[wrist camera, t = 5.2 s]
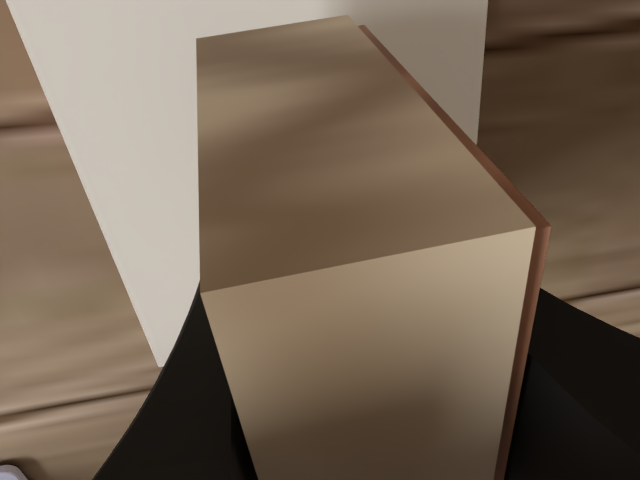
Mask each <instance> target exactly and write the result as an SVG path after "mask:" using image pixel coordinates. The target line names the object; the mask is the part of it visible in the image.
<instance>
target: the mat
mask: <svg viewBox="0 0 640 480" xmlns="http://www.w3.org/2000/svg"><path fill="white" fill-rule="evenodd" d="M6 2H7V4H8V7H9V9H10V12H11V14H12V16H13V19H14V21H15V24H16V26H17V28H18V31H19V33H20V36H21V38H22V40H23V43H24V45H25V48H26V50H27V52H28V55H29V57H30V60H31V62H32V64H33V67H34V69H35V72H36V74H37V76H38V79H39V81H40V84H41V86H42V88H43V91H44V93H45V96H46V98H47V100H48V103H49V105H50V108H51V110H52V112H53V115H54V117H55V119H56V122H57V124H58V127H59V129H60V131H61V134H62V136H63V139H64V141H65V143H66V146H67V148H68V151H69V153H70V155H71V158H72V160H73V163H74V165H75V167H76V170H77V172H78V175H79V177H80V179H81V182H82V184H83V187H84V189H85V191H86V194H87V196H88V199H89V201H90V203H91V206H92V208H93V211H94V213H95V215H96V218H97V220H98V223H99V225H100V227H101V230H102V232H103V235H104V237H105V239H106V242H107V244H108V247H109V249H110V251H111V254H112V256H113V259H114V261H115V263H116V266H117V268H118V271H119V273H120V275H121V278H122V280H123V283H124V285H125V287H126V290H127V292H128V295H129V297H130V299H131V302H132V304H133V307H134V309H135V311H136V314H137V316H138V319H139V321H140V323H141V326H142V328H143V331H144V333H145V335H146V338H147V340H148V343H149V345H150V347H151V350H152V352H153V355H154V357H155V359H156V362H157V364H158V367H163V366H164V365H165V363H166V361H167V359H168V357H169V355H170V353H171V351H172V349H173V347H174V345H175V343H176V340H177V338H178V336H179V333H180V331H181V329H182V326H183V324H184V322H185V319H186V317H187V315H188V312H189V309H190V307H191V304H192V301H193V299H194V296H195V293H196V290H197V287H198V284H199V281H200V255H199V192H198V130H197V67H196V38H202V37H209V36H215V35H222V34H228V33H234V32H241V31H247V30H253V29H260V28H266V27H272V26H279V25H285V24H292V23H298V22H304V21H311V20H317V19H323V18H330V17H336V16H343V15H348V16H349V17H350V18H351V19H352V20H353V21H354V22H355V24H356V25H357V26H360V25H365V26H366V27H367V28H368V29H369V30H370V31H371V33H372V34H373V35H374V36H375V37H376V38H377V39H378V40H379V41H380V42H381V43H382V44H383V45H384V47H385V48H386V49H387V50H388V51H389V52H390V53H391V54H392V55H393V56H394V57H395V58H396V59H397V60H398V62H399V63H400V64H401V65H402V66H403V67H404V68H405V69H406V70H407V71H408V72H409V73H410V74H411V76H412V77H413V78H414V79H415V80H416V81H417V82H418V83H419V84H420V85H421V86H422V87H423V88H424V90H425V91H426V92H427V93H428V94H429V95H430V96H431V97H432V98H433V99H434V100H435V101H436V102H437V103H438V105H439V106H440V107H441V108H442V109H443V110H444V111H445V112H446V113H447V114H448V115H449V116H450V117H451V119H452V120H453V121H454V122H455V123H456V124H457V125H458V126H459V127H460V128H461V129H462V130H463V131H464V132H465V134H466V135H467V136H468V137H469V138H470V139H471V140H472V141H473V142H474V143H475V144H476V145H477V137H478V124H479V111H480V98H481V85H482V72H483V60H484V47H485V34H486V21H487V8H488V0H6Z"/></svg>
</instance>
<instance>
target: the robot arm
mask: <svg viewBox="0 0 640 480" xmlns="http://www.w3.org/2000/svg"><path fill="white" fill-rule="evenodd" d="M0 480H27V478H26V477H25V476H24V474H23V473H22V472H21V471H20V469H18V468H17V467H16V466H13V465H2V466H0ZM92 480H258V477H257V474H256V471H255V467H254V464H253V461H252V458H251V455H250V451H249V448H248V445H247V442H246V439H245V435H244V432H243V429H242V426H241V423H240V419H239V416H238V413H237V410H236V407H235V403H234V400H233V397H232V394H231V391H230V387H229V384H228V381H227V378H226V375H225V371H224V368H223V365H222V362H221V359H220V355H219V352H218V349H217V346H216V343H215V339H214V336H213V333H212V330H211V327H210V323H209V320H208V317H207V314H206V311H205V307H204V304H203V301H202V298H201V294H200V281H199V284H198V287H197V290H196V293H195V296H194V299H193V301H192V304H191V307H190V309H189V312H188V315H187V317H186V319H185V322H184V324H183V326H182V329H181V331H180V333H179V336H178V338H177V340H176V343H175V345H174V347H173V349H172V351H171V353H170V355H169V357H168V359H167V361H166V363H165V365H164V367H163V369H162V371H161V373H160V375H159V377H158V379H157V381H156V382H155V384H154V386H153V388H152V390H151V391H150V393H149V395H148V397H147V398H146V400H145V402H144V404H143V405H142V407H141V409H140V410H139V412H138V413H137V415H136V417H135V418H134V420H133V421H132V423H131V425H130V426H129V428H128V429H127V431H126V432H125V434H124V435H123V437H122V438H121V440H120V441H119V443H118V444H117V445H116V447H115V448H114V450H113V451H112V453H111V454H110V456H109V457H108V459H107V460H106V461H105V463H104V464H103V466H102V467H101V468H100V470H99V471H98V472H97V474H96V475H95V476H94V478H93V479H92ZM504 480H640V338H639V337H636V336H634V335H631V334H629V333H627V332H625V331H622V330H620V329H618V328H616V327H614V326H611V325H609V324H607V323H605V322H603V321H601V320H599V319H597V318H595V317H593V316H591V315H589V314H587V313H585V312H583V311H581V310H579V309H577V308H575V307H573V306H571V305H569V304H568V303H566V302H564V301H562V300H560V299H558V298H557V297H555V296H553V295H552V294H550V293H548V292H547V291H545V290H543V289H541V288H540V290H539V295H538V301H537V306H536V311H535V316H534V322H533V327H532V332H531V338H530V343H529V348H528V353H527V359H526V364H525V369H524V375H523V380H522V385H521V390H520V396H519V401H518V406H517V412H516V417H515V422H514V427H513V433H512V438H511V443H510V449H509V454H508V459H507V464H506V470H505V475H504Z"/></svg>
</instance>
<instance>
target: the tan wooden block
mask: <svg viewBox="0 0 640 480" xmlns="http://www.w3.org/2000/svg"><path fill="white" fill-rule="evenodd" d="M196 67H197V130H198V192H199V255H200V294H201V298H202V301H203V304H204V307H205V311H206V314H207V317H208V320H209V323H210V327H211V330H212V333H213V336H214V339H215V343H216V346H217V349H218V352H219V355H220V359H221V362H222V365H223V368H224V371H225V375H226V378H227V381H228V384H229V387H230V391H231V394H232V397H233V400H234V403H235V407H236V410H237V413H238V416H239V419H240V423H241V426H242V429H243V432H244V435H245V439H246V442H247V445H248V448H249V451H250V455H251V458H252V461H253V464H254V467H255V471H256V474H257V477H258V480H504V475H505V470H506V464H507V459H508V454H509V449H510V443H511V438H512V433H513V427H514V422H515V417H516V412H517V406H518V401H519V396H520V390H521V385H522V380H523V375H524V369H525V364H526V359H527V353H528V348H529V343H530V338H531V332H532V327H533V322H534V316H535V311H536V306H537V301H538V295H539V290H540V285H541V279H542V274H543V269H544V264H545V258H546V253H547V248H548V242H549V237H550V232H551V227H552V226H551V225H550V224H549V223H548V222H547V221H546V220H545V218H544V217H543V216H542V215H541V214H540V213H539V212H538V211H537V210H536V209H535V208H534V207H533V206H532V204H531V203H530V202H529V201H528V200H527V199H526V198H525V197H524V196H523V195H522V194H521V193H520V192H519V191H518V189H517V188H516V187H515V186H514V185H513V184H512V183H511V182H510V181H509V180H508V179H507V178H506V177H505V175H504V174H503V173H502V172H501V171H500V170H499V169H498V168H497V167H496V166H495V165H494V164H493V163H492V162H491V160H490V159H489V158H488V157H487V156H486V155H485V154H484V153H483V152H482V151H481V150H480V149H479V148H478V146H477V145H476V144H475V143H474V142H473V141H472V140H471V139H470V138H469V137H468V136H467V135H466V134H465V132H464V131H463V130H462V129H461V128H460V127H459V126H458V125H457V124H456V123H455V122H454V121H453V120H452V119H451V117H450V116H449V115H448V114H447V113H446V112H445V111H444V110H443V109H442V108H441V107H440V106H439V105H438V103H437V102H436V101H435V100H434V99H433V98H432V97H431V96H430V95H429V94H428V93H427V92H426V91H425V90H424V88H423V87H422V86H421V85H420V84H419V83H418V82H417V81H416V80H415V79H414V78H413V77H412V76H411V74H410V73H409V72H408V71H407V70H406V69H405V68H404V67H403V66H402V65H401V64H400V63H399V62H398V60H397V59H396V58H395V57H394V56H393V55H392V54H391V53H390V52H389V51H388V50H387V49H386V48H385V47H384V45H383V44H382V43H381V42H380V41H379V40H378V39H377V38H376V37H375V36H374V35H373V34H372V33H371V31H370V30H369V29H368V28H367V27H366V26H365V25H360V26H357V25H356V24H355V22H354V21H353V20H352V19H351V18H350V17H349V16H348V15H343V16H336V17H330V18H323V19H317V20H311V21H304V22H298V23H292V24H285V25H279V26H272V27H266V28H260V29H253V30H247V31H241V32H234V33H228V34H222V35H215V36H209V37H202V38H196Z"/></svg>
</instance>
